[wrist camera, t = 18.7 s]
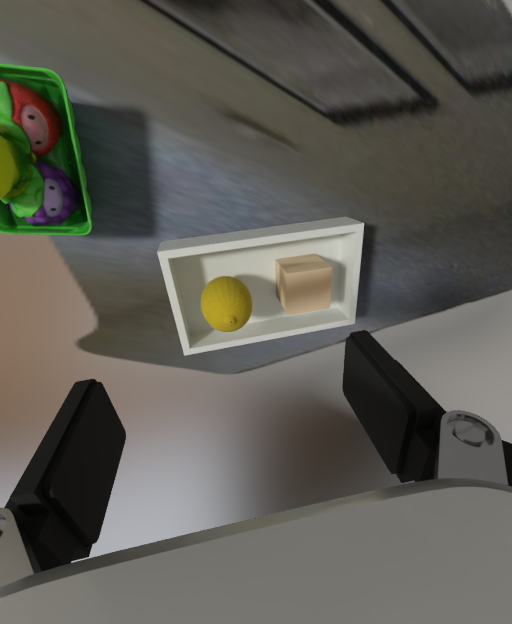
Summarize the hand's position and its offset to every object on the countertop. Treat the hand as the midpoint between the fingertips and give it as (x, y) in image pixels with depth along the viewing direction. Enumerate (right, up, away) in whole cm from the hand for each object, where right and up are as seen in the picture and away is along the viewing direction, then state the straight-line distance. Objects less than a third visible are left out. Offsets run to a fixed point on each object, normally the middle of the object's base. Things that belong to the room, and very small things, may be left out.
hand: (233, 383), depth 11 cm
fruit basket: (-18, +17, +15) cm, 29 cm away
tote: (+2, +7, +24) cm, 25 cm away
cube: (+6, +7, +24) cm, 26 cm away
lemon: (-3, +6, +23) cm, 24 cm away
